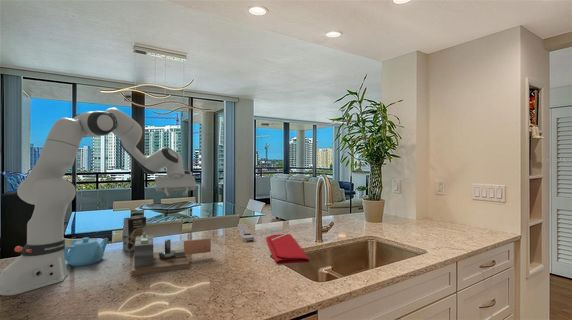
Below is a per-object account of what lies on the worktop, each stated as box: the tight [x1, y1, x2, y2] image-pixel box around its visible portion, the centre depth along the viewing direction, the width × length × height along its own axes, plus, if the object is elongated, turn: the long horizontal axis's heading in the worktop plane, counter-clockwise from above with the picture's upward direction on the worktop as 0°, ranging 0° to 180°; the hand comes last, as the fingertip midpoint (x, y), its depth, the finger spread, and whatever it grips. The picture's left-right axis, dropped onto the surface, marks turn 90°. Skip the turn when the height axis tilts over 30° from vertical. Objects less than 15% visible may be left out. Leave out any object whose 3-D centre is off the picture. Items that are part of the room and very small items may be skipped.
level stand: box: [130, 231, 190, 277], centre depth 132 cm, size 22×22×14 cm
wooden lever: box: [158, 237, 212, 259], centre depth 138 cm, size 7×22×8 cm, turn 115°
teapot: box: [64, 236, 109, 267], centre depth 134 cm, size 15×15×11 cm
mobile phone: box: [237, 223, 254, 243], centre depth 179 cm, size 6×6×25 cm
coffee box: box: [122, 215, 147, 252], centre depth 155 cm, size 9×6×16 cm
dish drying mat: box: [265, 233, 310, 265], centre depth 154 cm, size 16×41×4 cm, turn 10°
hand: (176, 195), depth 155 cm, fingers open, 7 cm apart
